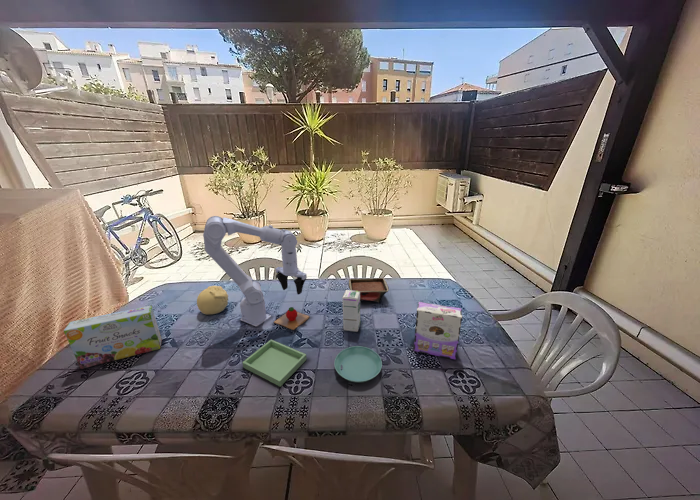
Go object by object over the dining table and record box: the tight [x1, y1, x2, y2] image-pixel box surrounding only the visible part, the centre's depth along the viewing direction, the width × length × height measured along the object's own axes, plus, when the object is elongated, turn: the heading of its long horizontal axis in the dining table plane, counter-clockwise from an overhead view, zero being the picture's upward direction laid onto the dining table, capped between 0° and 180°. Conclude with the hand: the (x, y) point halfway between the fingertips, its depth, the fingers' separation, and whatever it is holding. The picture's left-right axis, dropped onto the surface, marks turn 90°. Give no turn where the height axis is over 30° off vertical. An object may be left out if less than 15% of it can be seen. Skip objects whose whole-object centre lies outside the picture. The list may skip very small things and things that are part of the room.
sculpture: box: [196, 285, 229, 316], centre depth 114 cm, size 12×12×11 cm
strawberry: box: [285, 306, 298, 321], centre depth 108 cm, size 4×4×5 cm
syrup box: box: [341, 289, 361, 333], centre depth 102 cm, size 6×6×14 cm
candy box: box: [412, 301, 463, 360], centre depth 90 cm, size 14×6×16 cm, turn 71°
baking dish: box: [347, 277, 390, 304], centre depth 124 cm, size 14×18×10 cm
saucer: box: [333, 345, 383, 384], centre depth 84 cm, size 15×15×3 cm
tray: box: [241, 339, 307, 388], centre depth 86 cm, size 15×12×2 cm
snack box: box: [63, 305, 163, 370], centre depth 88 cm, size 21×6×15 cm, turn 117°
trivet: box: [273, 311, 311, 331], centre depth 109 cm, size 10×10×1 cm
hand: (292, 291), depth 112 cm, fingers open, 7 cm apart
